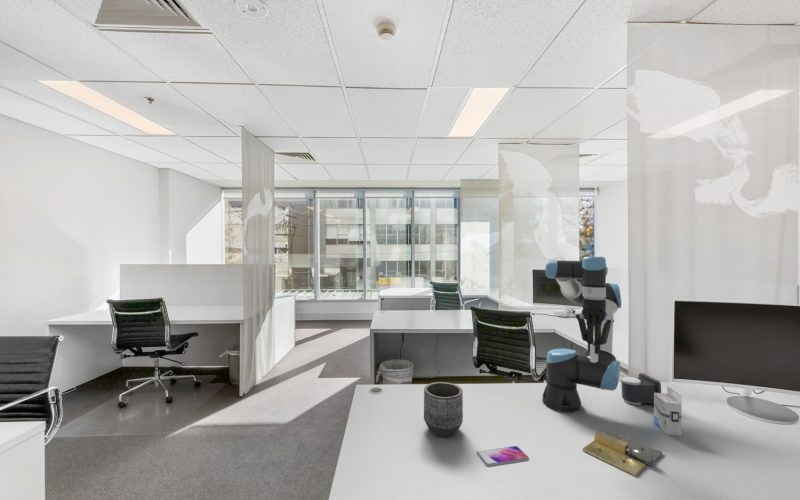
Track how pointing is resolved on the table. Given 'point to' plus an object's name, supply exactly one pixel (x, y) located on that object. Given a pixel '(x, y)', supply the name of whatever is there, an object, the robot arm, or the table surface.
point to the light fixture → (639, 389)
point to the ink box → (668, 412)
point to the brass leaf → (613, 453)
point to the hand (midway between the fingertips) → (594, 361)
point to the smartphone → (502, 456)
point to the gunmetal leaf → (639, 450)
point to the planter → (443, 408)
